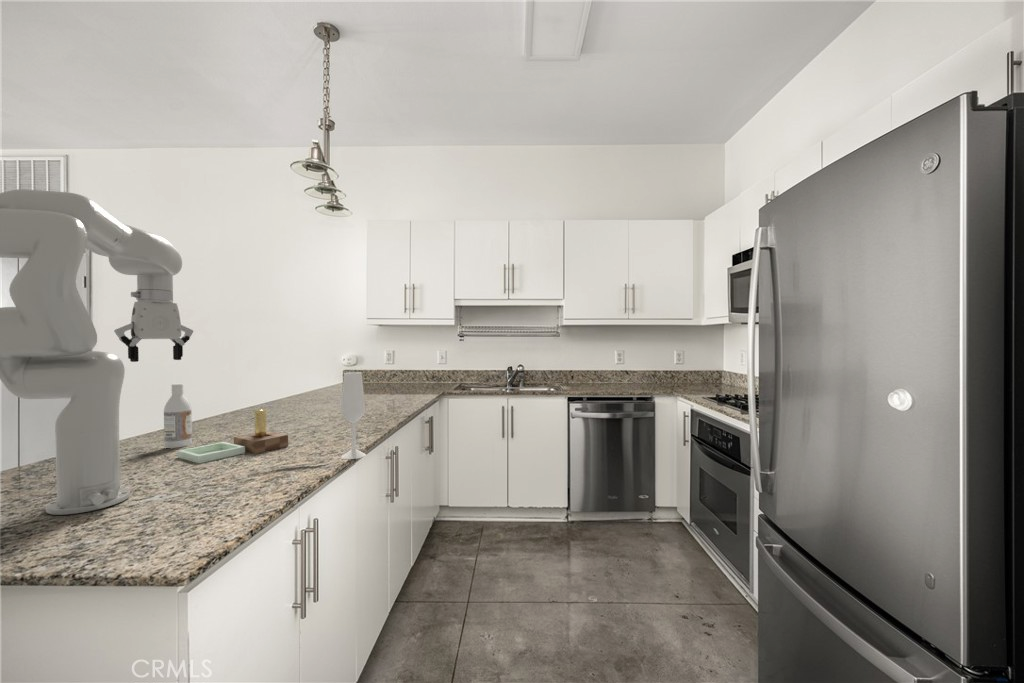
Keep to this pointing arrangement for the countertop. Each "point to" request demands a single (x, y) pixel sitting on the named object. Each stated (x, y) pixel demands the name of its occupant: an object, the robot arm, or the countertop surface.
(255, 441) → the bore block
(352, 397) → the champagne flute
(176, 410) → the bath foam
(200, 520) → the countertop surface
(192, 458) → the tray
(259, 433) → the gold cylinder
